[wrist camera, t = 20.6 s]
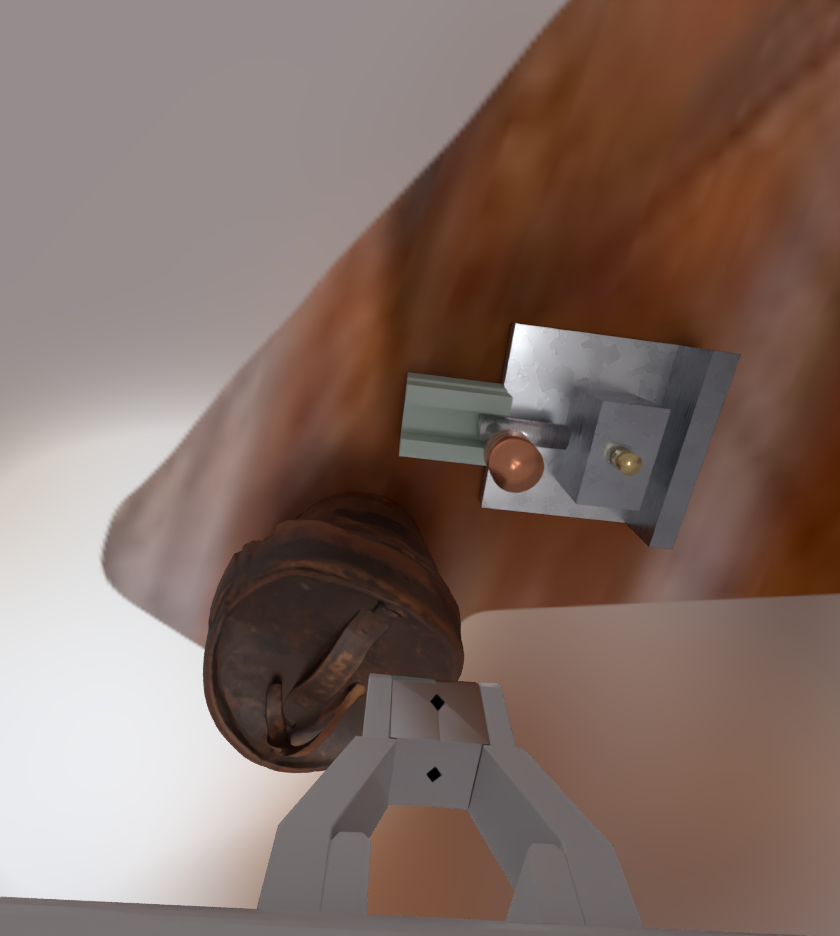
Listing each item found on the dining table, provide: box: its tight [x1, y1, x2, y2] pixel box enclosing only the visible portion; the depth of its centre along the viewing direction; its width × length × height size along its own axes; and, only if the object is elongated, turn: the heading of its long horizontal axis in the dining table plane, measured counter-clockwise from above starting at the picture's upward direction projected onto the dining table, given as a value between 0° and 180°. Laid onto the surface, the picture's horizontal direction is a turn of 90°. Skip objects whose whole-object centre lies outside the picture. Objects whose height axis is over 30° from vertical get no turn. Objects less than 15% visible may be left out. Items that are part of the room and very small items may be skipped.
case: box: [203, 492, 464, 773], centre depth 36 cm, size 18×20×18 cm
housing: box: [553, 387, 671, 511], centre depth 36 cm, size 5×8×8 cm, turn 173°
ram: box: [476, 415, 571, 493], centre depth 32 cm, size 8×3×10 cm, turn 83°
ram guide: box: [399, 372, 513, 466], centre depth 37 cm, size 8×6×5 cm
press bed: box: [479, 323, 741, 549], centre depth 38 cm, size 16×16×6 cm
